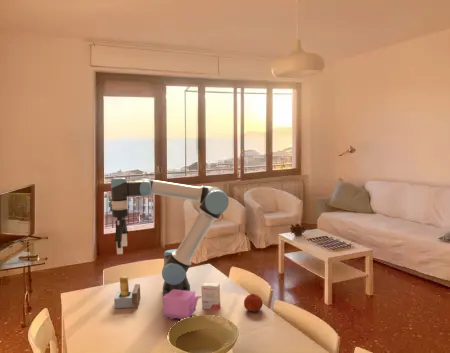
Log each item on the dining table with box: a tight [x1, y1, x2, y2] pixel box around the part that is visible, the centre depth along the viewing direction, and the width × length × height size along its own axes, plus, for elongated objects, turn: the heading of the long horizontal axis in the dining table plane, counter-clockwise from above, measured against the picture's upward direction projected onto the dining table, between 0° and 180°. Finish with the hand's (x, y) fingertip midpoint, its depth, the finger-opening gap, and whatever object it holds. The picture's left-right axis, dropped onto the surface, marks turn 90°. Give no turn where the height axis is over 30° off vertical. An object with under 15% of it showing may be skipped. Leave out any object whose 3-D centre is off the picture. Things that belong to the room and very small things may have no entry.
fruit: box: [243, 293, 264, 313], centre depth 180 cm, size 9×9×8 cm
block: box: [113, 290, 133, 309], centre depth 190 cm, size 9×9×5 cm
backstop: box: [132, 283, 141, 310], centre depth 191 cm, size 2×12×8 cm, turn 6°
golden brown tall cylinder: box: [119, 275, 130, 297], centre depth 190 cm, size 4×4×13 cm
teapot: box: [162, 289, 202, 321], centre depth 175 cm, size 20×10×12 cm, turn 71°
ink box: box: [200, 281, 221, 310], centre depth 184 cm, size 9×5×12 cm, turn 79°
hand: (122, 249), depth 188 cm, fingers open, 13 cm apart
